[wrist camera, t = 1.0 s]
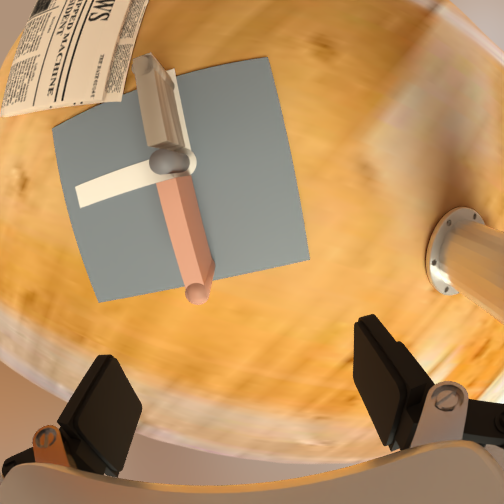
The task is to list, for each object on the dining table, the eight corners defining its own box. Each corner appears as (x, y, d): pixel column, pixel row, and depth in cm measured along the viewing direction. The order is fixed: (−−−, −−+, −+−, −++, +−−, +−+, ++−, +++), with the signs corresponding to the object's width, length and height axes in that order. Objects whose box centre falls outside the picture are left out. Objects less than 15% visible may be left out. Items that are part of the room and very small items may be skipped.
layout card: (265, 50, 24) (265, 49, 23) (309, 258, 31) (310, 259, 30) (52, 121, 24) (50, 121, 24) (99, 301, 31) (98, 303, 31)
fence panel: (168, 156, 26) (146, 153, 19) (187, 150, 26) (170, 145, 19) (199, 276, 30) (189, 306, 23) (217, 272, 30) (211, 302, 23)
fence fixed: (173, 77, 24) (153, 51, 17) (187, 146, 26) (169, 139, 19) (155, 82, 24) (130, 59, 17) (168, 151, 26) (145, 147, 19)
